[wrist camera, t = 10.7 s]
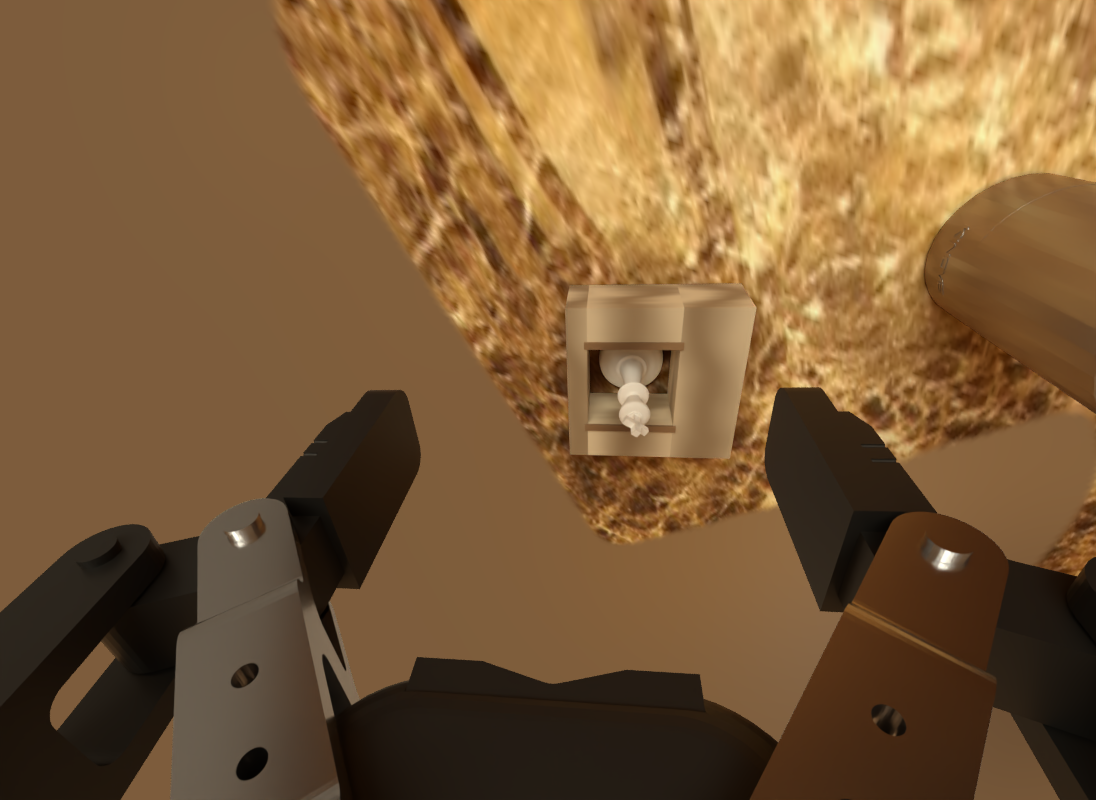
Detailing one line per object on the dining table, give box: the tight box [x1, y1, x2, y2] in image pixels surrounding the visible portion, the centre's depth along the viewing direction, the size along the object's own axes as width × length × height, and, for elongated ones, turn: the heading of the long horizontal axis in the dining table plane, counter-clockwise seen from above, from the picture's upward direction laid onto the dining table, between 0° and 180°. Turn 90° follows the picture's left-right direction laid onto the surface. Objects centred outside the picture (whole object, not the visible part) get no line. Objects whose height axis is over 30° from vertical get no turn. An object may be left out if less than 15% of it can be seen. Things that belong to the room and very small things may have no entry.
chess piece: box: [599, 350, 663, 437], centre depth 35 cm, size 5×5×10 cm
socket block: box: [565, 284, 757, 459], centre depth 37 cm, size 12×12×5 cm
